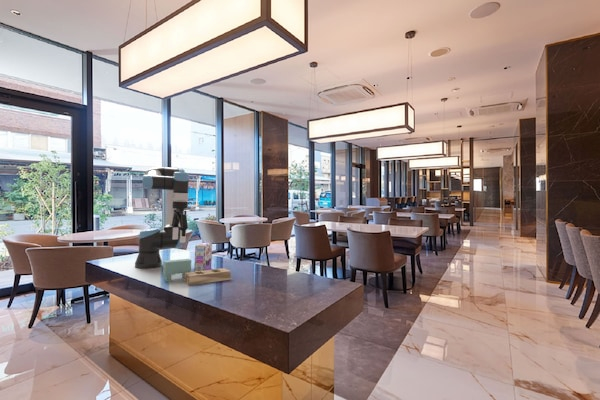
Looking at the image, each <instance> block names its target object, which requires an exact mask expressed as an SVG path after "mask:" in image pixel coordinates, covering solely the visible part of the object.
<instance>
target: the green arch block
mask: <svg viewBox="0 0 600 400" xmlns="http://www.w3.org/2000/svg"><path fill="white" fill-rule="evenodd" d="M162 263H163V264H162V274H163V275H164V281H165V282H172V279H173V278H172V277H173V276H172V275H178V274H180V275H181V274H182V275H181V278H182V279H183V280H184V273H185V272H192V259H190V258H183V259H182V258H181V259H173V260H171V259H168V260H163V261H162Z"/></svg>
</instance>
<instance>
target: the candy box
mask: <svg viewBox="0 0 600 400" xmlns="http://www.w3.org/2000/svg"><path fill="white" fill-rule="evenodd" d="M212 256H213V243H212V242H202V243H199V244H197V245H195V250H194V269H193V272H194V271H202V270H211V269H212V261H213V260H212V259H213V258H212Z"/></svg>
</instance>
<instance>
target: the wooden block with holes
mask: <svg viewBox="0 0 600 400" xmlns="http://www.w3.org/2000/svg"><path fill="white" fill-rule="evenodd" d="M231 275H232V270H229V269H227V268H225V267H222V268H221V267H219V268H211V269H210V270H202V271H194V270H193V271H191V272H185V273H184V279H183V282H184V283H185V284H187V285H188V286H195V285H200V284H201V285H202V284H208V283H217V282H223V281H228V280H230V281H231V277H232V276H231Z"/></svg>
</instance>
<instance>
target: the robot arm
mask: <svg viewBox="0 0 600 400" xmlns="http://www.w3.org/2000/svg"><path fill="white" fill-rule="evenodd" d="M189 181H190V174H189V173H188V172H185V170H184V169H183V168H178V167H166V166H155V167H151V168H148V169H147V170H146V171H145V173H144V175H142V181H141V182H142V183H141V184H142V186H141V187H142V189H147V190H166V192H167V193H166V224H165V225H164V227H163V230H161V228H159V227H154V228H153V227H152V228H147V229H142V230H140V231H139V235H138V254H137V257H136V259H135V262H134V267H135V268H137V269H152V268H158V267H161V266H163V264H162V263H163V261H162V258H161V255H160V250H161V249H179V248H182V247H183V246H184V243H186V242H187V241H186V240H187V230H188V227H189V226H188V219H187V210H185V209H188V207H189V205H188V204H189V202H188V201H189Z"/></svg>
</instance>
